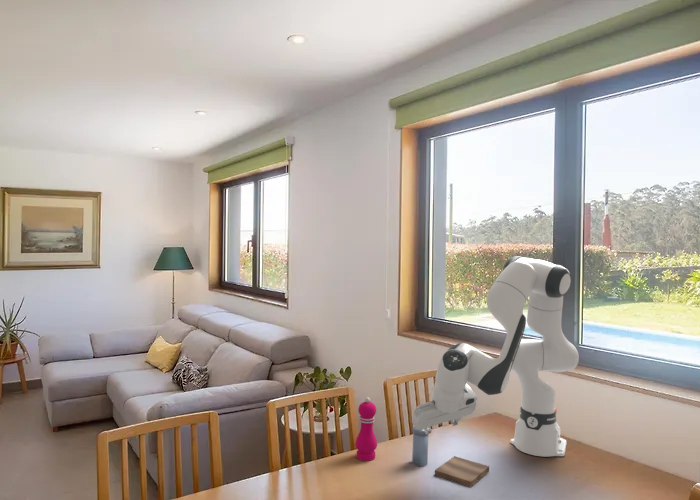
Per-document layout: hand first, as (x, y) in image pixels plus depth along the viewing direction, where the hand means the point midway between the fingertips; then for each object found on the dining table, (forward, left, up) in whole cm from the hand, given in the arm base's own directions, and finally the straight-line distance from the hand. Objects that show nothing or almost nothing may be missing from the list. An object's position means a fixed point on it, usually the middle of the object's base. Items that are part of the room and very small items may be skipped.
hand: (440, 427), depth 160 cm
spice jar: (-4, -9, -15) cm, 18 cm away
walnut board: (-6, +5, -15) cm, 17 cm away
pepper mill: (+4, -25, -15) cm, 30 cm away
